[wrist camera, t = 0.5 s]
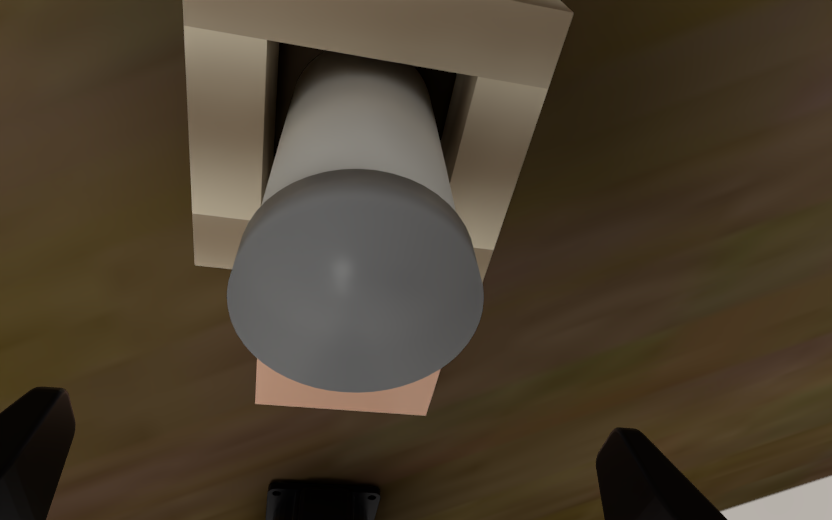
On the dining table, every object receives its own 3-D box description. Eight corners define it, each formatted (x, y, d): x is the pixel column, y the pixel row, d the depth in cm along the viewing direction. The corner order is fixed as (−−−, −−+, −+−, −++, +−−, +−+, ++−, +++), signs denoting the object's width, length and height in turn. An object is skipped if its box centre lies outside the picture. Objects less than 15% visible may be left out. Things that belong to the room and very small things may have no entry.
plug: (421, 189, 22) (451, 400, 14) (281, 170, 21) (227, 383, 13) (452, 51, 19) (515, 220, 11) (290, 22, 18) (226, 182, 10)
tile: (423, 391, 29) (425, 415, 27) (260, 378, 27) (255, 403, 26) (461, 266, 24) (465, 290, 23) (266, 244, 23) (260, 267, 21)
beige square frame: (466, 247, 23) (478, 295, 21) (213, 217, 22) (194, 265, 19) (545, -13, 18) (573, 12, 15) (208, -82, 16) (179, -66, 13)
